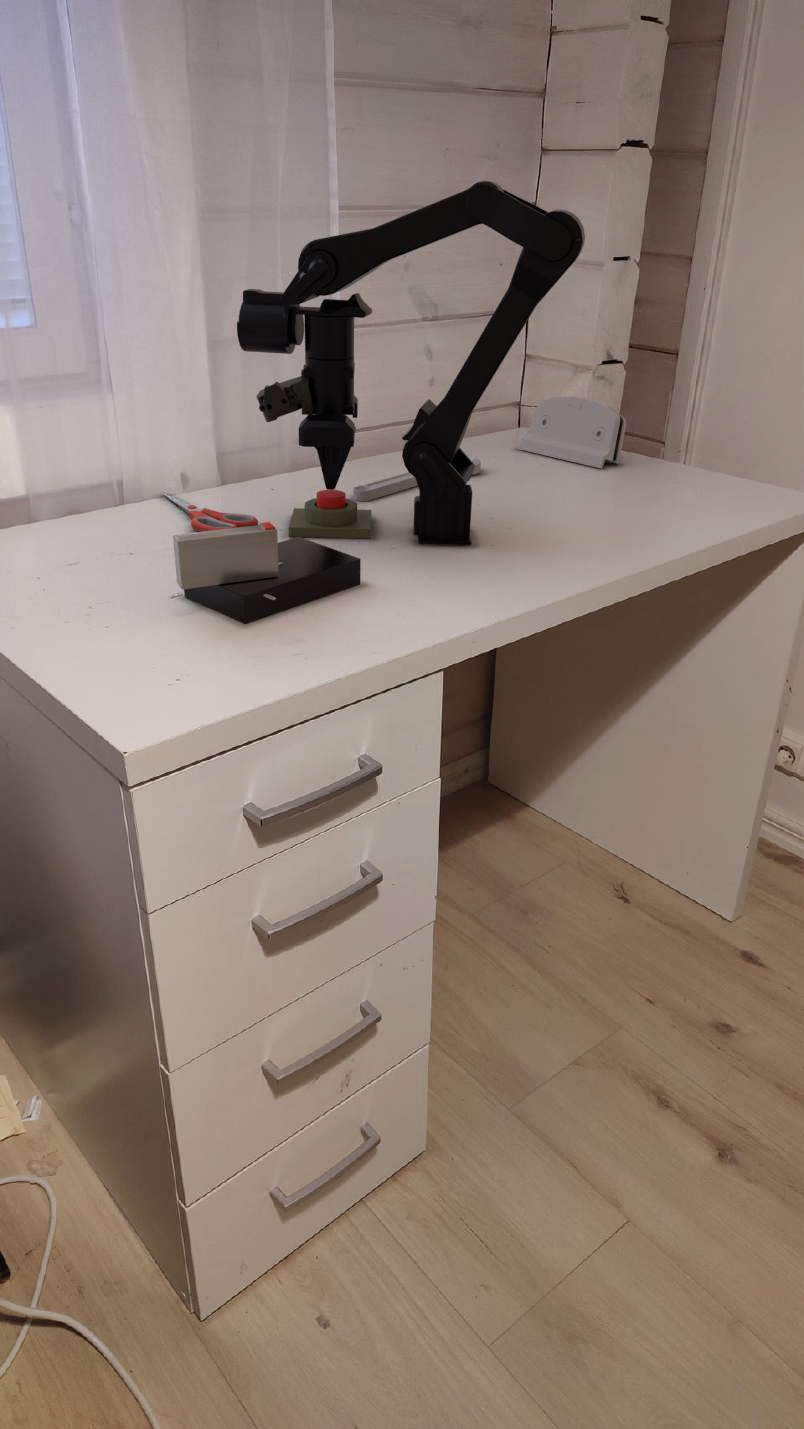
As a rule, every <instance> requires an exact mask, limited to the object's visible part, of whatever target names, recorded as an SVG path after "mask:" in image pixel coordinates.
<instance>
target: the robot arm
mask: <svg viewBox="0 0 804 1429" xmlns="http://www.w3.org/2000/svg"><path fill="white" fill-rule="evenodd" d="M479 225H484V226H486V227H488V228H489V229H491V230H493V231H495V232H496V233H498V234H500V235H501V236H503V237H505V238H506V239H507V240H510V241H511V242H513V243H515V244H517V245H518V246H520V247H522V248H521V251H520V254H519V257H518V259H517V262H516V265H515V268H514V271H513V273H512V277H511V280H510V282H509V285H508V288H507V289H506V291H505V293H504V294H503V296H502V299H500V302H499V303H498V304H497V307H496V308H495V310H494V312H493V313H492V315H491V317H490V318H489V320H488V322H487V324H486V325H485V327H484V329H483V331H482V332H481V334H480V336H479V338H478V339H477V341H476V343H475V344H474V346H473V348H472V350H471V351H470V353H469V355H468V356H467V358H466V359H465V361H464V363H463V364H462V367H461V368H460V370H459V371H458V372H457V375H456V376H455V378H454V380H453V382H452V383H451V385H450V387H449V389H448V390H447V392H446V394H445V395H444V397H443V398H442V400H441V401H440V402H439V403H438V405H436V404H435V402H433V401H432V400H431V399H430V398H429V399H427V400H426V401H425V402H424V403H423V404H422V405H421V407H420V408H419V409H418V410H417V413H416V415H415V418H414V422H413V424H412V426H410V428H409V429H408V430H407V431H406V432H405V434H404V435H403V436H402V437H401V440H403V441H406V442H405V444H404V447H403V449H402V454H401V457H402V460H403V465H404V467H405V468H406V471H407V472H409V473H410V474H412V475H413V476H414V477H415V478H416V481H417V484H418V486H417V487H418V490H419V491H418V492H419V493H418V495H415V496H414V498H413V523H412V524H413V525H412V526H413V527H412V529H413V535H415V536H416V538H417V544H420V545H439V546H440V545H441V546H442V545H449V546H471V545H472V536H471V522H472V508H473V507H472V505H473V489H472V485H471V484H467V483H468V482H469V481H470V479H471V477H472V476H473V475H472V473H473V470H474V468H475V464H474V463H473V462H472V461H473V460H472V459H470V457H469V456H468V455H467V454H466V453H465V452H464V450H463V449H462V448H461V445H462V442H463V440H464V437H465V435H466V431H467V430H468V426H469V423H470V421H471V418H472V414H473V412H474V410H475V408H476V406H477V405H478V403H479V401H480V400H481V398H482V396H483V395H484V393H485V391H486V389H487V388H488V387H489V385H490V383H491V381H492V380H493V378H494V377H495V375H496V374H497V372H498V370H499V369H500V367H501V365H502V363H503V362H504V360H505V359H506V357H507V355H508V354H509V352H510V350H511V349H512V347H513V345H514V344H515V342H516V340H517V339H518V337H519V335H520V334H521V332H522V330H523V329H524V327H525V326H526V324H527V322H528V320H529V319H530V317H531V315H532V314H533V312H534V310H535V309H536V308H537V306H538V305H539V303H540V302H541V301H542V300H543V299H544V298H545V296H546V295H548V293H549V292H550V291H551V289H553V288H554V286H555V285H556V284H557V283H558V282H559V280H560V279H561V278H562V277H563V276H564V275H565V273H567V271H568V270H569V269H570V267H572V265H573V264H574V263H575V262H576V261H577V259H578V258H579V256H580V255H581V253H582V251H583V248H584V246H585V241H586V234H585V227H584V225H583V223H582V221H581V219H580V218H579V217H578V216H577V215H576V214H575V213H573V212H571V211H569V210H566V209H554V210H551V211H547V210H545V209H543V208H541V207H540V206H538V205H536V204H534V203H533V202H530V201H528V200H525V199H524V198H522V197H520V196H518V195H515V194H514V193H512V192H509V191H508V190H506V189H504V188H503V187H502V186H501V185H500V184H498V183H497V182H495V181H492V180H482V181H478V182H475V183H473V185H471V186H470V187H469V188H467V189H465V190H463V191H460V192H457V193H455V194H453V195H451V196H448V197H445V198H443V199H441V200H438V201H436V202H433V203H431V204H428V205H426V206H424V207H421V208H418V209H417V210H416V209H415V210H414V211H411V212H409V213H407V214H405V215H402V216H399V217H397V218H395V219H392V220H390V221H387V222H385V223H383V224H380V225H378V226H375V227H373V228H367V229H362V230H358V231H357V230H356V231H352V232H348V233H342V234H337V235H332V236H327V237H321V238H317V239H314V240H311V241H309V242H308V243H306V244H305V245H304V246H303V247H302V249H301V252H300V254H299V257H298V262H297V272H296V274H295V275H294V277H293V278H292V280H291V281H290V282H289V284H288V286H287V287H286V288H285V290H284V291H266V290H262V289H259V288H247V289H244V290H243V291H242V303H241V305H240V308H239V312H238V313H239V314H238V321H237V322H236V334H237V340H238V344H239V347H240V348H241V350H242V351H243V352H251V353H265V354H266V353H268V354H280V355H281V354H284V355H291V354H293V353H294V351H295V348H296V346H301V345H302V344H303V341H304V364H303V367H302V369H301V372H300V373H301V374H300V376H297V377H293V378H290V379H287V380H284V381H281V382H278V381H275V382H274V383H273V384H270V385H268V384H266V385H264V388H263V389H261V390H259V391H258V393H257V394H256V400H257V402H258V404H259V405H258V410H259V411H260V412H262V415H263V418H264V419H265V422H266V423H270V422H271V423H272V422H274V421H277V420H278V418H280V417H283V416H286V415H288V414H291V413H295V412H297V411H300V410H301V416H305V417H304V419H302V420H301V421H300V424H299V426H298V446H299V447H303V448H304V447H305V448H314V449H316V452H317V457H318V460H319V465H320V469H321V473H322V478H323V482H324V485H325V486H324V487H325V490H336V488H337V485H338V482H339V480H340V477H341V474H342V472H343V469H344V466H345V464H346V462H347V459H348V457H349V454H350V452H351V449H352V448H353V447H355V437H356V428H357V427H356V424H355V422H354V421H353V420H351V418H350V417H349V416H352V419H358V415H359V414H358V413H359V399H358V397H357V396H356V395H355V373H356V372H355V371H356V363H355V318H357V319H358V318H359V319H365V318H366V317H368V316H370V315H372V314H373V309H372V308H371V307H370V306H369V305H368V304H367V303H366V302H365V301H364V299H363V298H362V297H361V294H360V293H359V292H355V293H353V294H351V295H350V297H349V298H348V299H337V298H336V299H335V298H334V299H333V298H324V299H322V301H321V303H320V306H301V304H304V303H306V302H309V301H312V300H314V299H318V298H319V297H325V296H330V295H331V296H332V295H333V294H334V295H335V294H337V293H338V292H342V291H344V290H346V289H348V288H350V287H352V286H353V285H355V284H356V283H357V282H359V281H361V280H363V279H364V278H365V277H367V276H369V275H370V274H372V273H373V272H375V271H376V270H377V269H379V268H380V267H382V266H383V265H385V264H386V263H388V262H390V261H391V260H394V259H397V258H398V257H401V256H404V255H406V254H409V253H412V252H414V251H416V250H419V249H421V248H425V247H426V246H429V245H432V244H435V243H436V242H439V241H441V240H444V239H446V238H449V237H452V236H454V235H457V234H459V233H461V232H463V231H466V230H469V229H471V228H474V227H477V226H479Z"/></svg>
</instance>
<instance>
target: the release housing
mask: <svg viewBox="0 0 804 1429" xmlns="http://www.w3.org/2000/svg"><path fill="white" fill-rule="evenodd" d="M372 515H373V514H372V509H358V502H356V501H355V500H354V499H353V500H352V499H351V498H346V507H345V508H341V509H322V508H318V507H317V497H315V498H312V499H309V500H307V501H305V502H304V507H303V508H302V507H301V508H299V507H298V508H297V507H294V508H293V510H292V514H291V518H290V521H289V524H288V537H289V538H296V537H301V538H325V539H326V538H330V539H332V538H333V539H372V538H371V537H372Z"/></svg>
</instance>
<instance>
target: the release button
mask: <svg viewBox="0 0 804 1429" xmlns="http://www.w3.org/2000/svg"><path fill="white" fill-rule="evenodd" d="M346 496H347V495H346V492H345V491H342V490H338V489H334V490H328V489H323V490H320V491H317V492H316V498H317V507H318V508H322V509H341V508H345V507H346V499H347V498H346Z"/></svg>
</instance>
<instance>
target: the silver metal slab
mask: <svg viewBox="0 0 804 1429" xmlns="http://www.w3.org/2000/svg"><path fill="white" fill-rule="evenodd" d="M172 538H173V539H172V540H173V552H174V564H175V565H174V566H175V575H176V583H177V585H178V586H179V587H180V589H181V590H183V591H184V589H191V588H198V587H205V586H213V585H220V584H228V583H235V582H242V581H250V580H257V579H265V578H272V577H278V576H279V570H278V543H279V542H278V529H277V528H276V527H275V525H273V523H271V522H270V521H267V522H266V521H265V522H260V523H259V524H258V525H257V526H248V527H239V528H230V529H221V530H212V531H204V532H198V531H196V532H187V533H178V534H173V535H172Z"/></svg>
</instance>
